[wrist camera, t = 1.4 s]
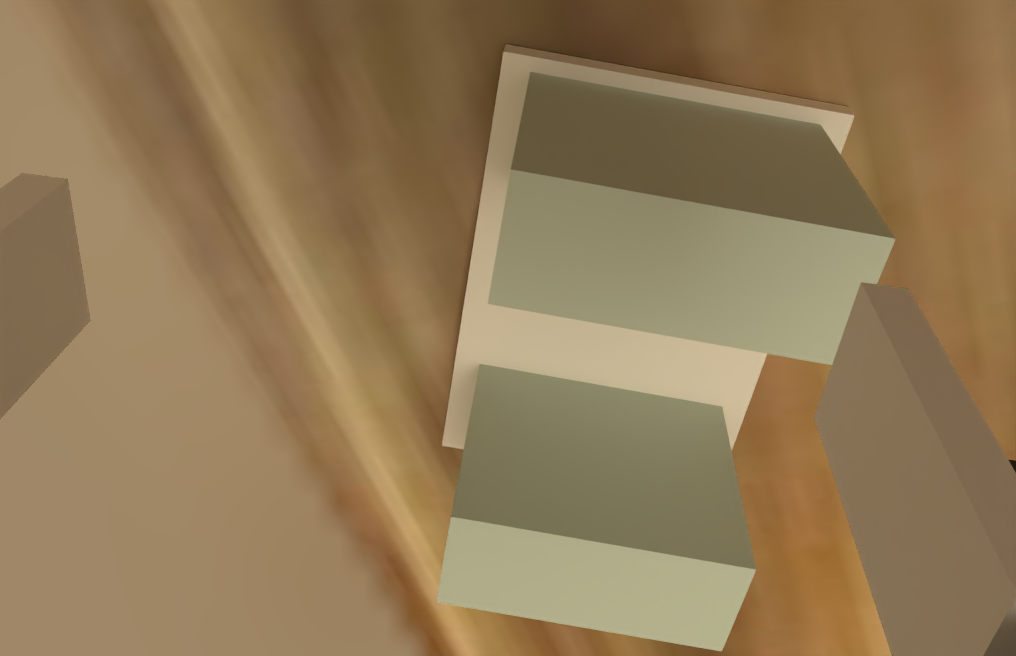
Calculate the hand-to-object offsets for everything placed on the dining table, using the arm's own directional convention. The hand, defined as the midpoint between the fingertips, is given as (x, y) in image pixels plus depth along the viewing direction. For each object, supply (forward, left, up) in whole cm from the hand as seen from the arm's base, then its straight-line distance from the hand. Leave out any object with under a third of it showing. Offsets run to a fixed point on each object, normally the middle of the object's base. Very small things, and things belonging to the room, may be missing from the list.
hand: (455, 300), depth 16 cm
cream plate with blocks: (+9, +5, -19) cm, 21 cm away
